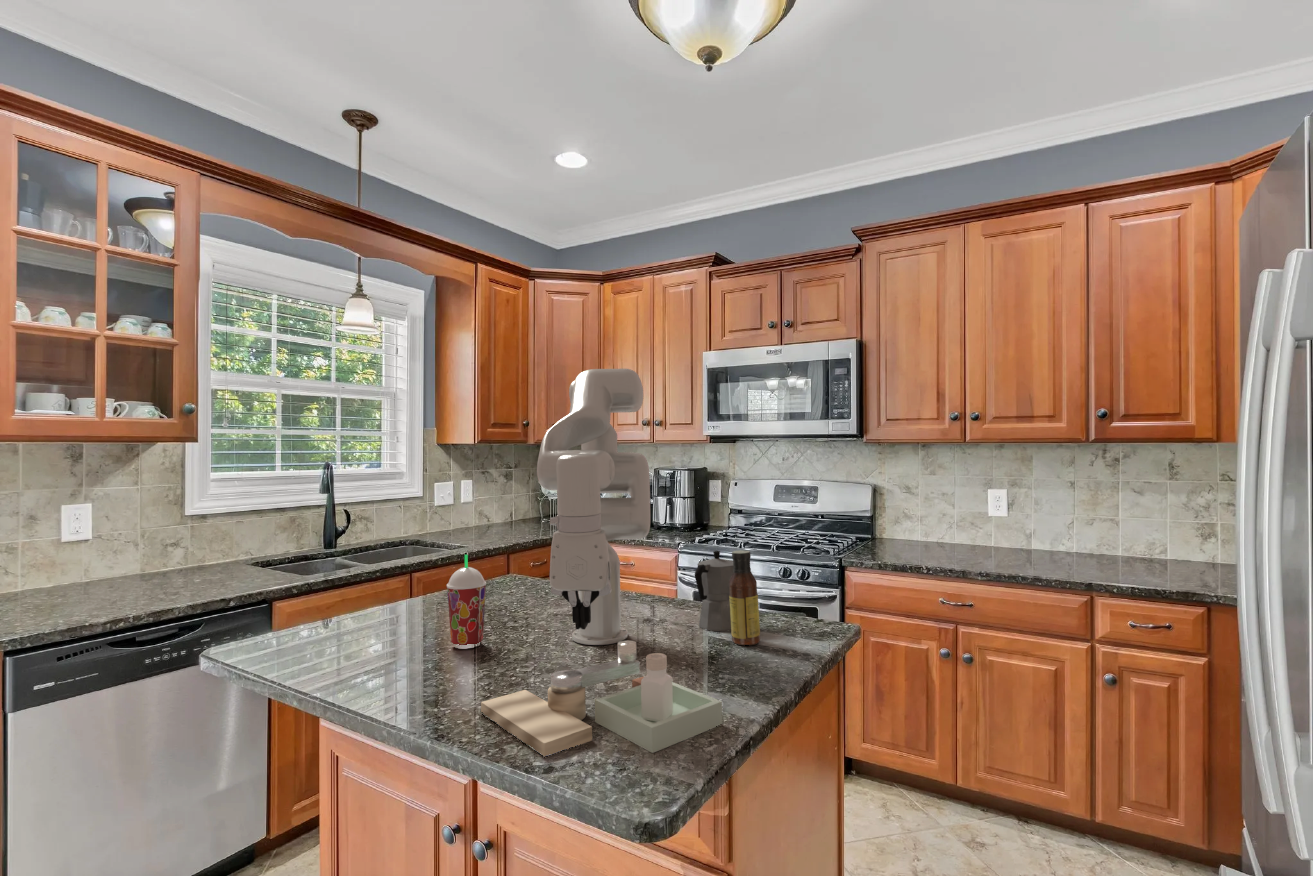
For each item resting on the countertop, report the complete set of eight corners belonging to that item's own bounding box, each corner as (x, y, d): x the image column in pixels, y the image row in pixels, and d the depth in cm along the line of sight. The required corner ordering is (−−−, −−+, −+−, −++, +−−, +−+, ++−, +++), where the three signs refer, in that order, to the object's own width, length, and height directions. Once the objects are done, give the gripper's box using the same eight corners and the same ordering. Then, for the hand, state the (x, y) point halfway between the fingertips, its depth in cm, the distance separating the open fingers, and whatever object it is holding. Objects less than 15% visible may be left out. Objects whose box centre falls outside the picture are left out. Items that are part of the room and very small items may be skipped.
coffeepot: (716, 617, 163) (715, 545, 164) (749, 623, 157) (747, 548, 158) (680, 631, 151) (679, 554, 151) (714, 638, 145) (713, 557, 146)
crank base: (481, 714, 105) (480, 687, 105) (614, 675, 123) (613, 652, 123) (544, 757, 90) (543, 726, 90) (686, 706, 107) (685, 679, 107)
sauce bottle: (759, 638, 145) (757, 549, 145) (761, 647, 138) (759, 553, 139) (729, 638, 145) (728, 549, 146) (730, 646, 139) (728, 553, 139)
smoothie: (494, 642, 145) (493, 552, 146) (472, 653, 137) (470, 558, 138) (462, 639, 148) (461, 551, 148) (439, 650, 140) (438, 557, 140)
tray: (595, 722, 102) (594, 699, 102) (662, 698, 111) (662, 678, 111) (652, 753, 91) (651, 727, 91) (722, 724, 100) (721, 701, 100)
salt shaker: (640, 720, 100) (639, 658, 100) (651, 710, 104) (650, 650, 104) (663, 724, 98) (662, 661, 98) (674, 714, 102) (673, 653, 102)
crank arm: (559, 696, 101) (558, 663, 101) (545, 686, 105) (545, 655, 105) (643, 674, 110) (642, 645, 110) (627, 666, 114) (627, 638, 114)
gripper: (531, 527, 111) (534, 633, 112) (618, 527, 110) (620, 634, 111) (543, 520, 119) (546, 619, 119) (624, 520, 117) (626, 620, 118)
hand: (581, 626), depth 115 cm, fingers closed
